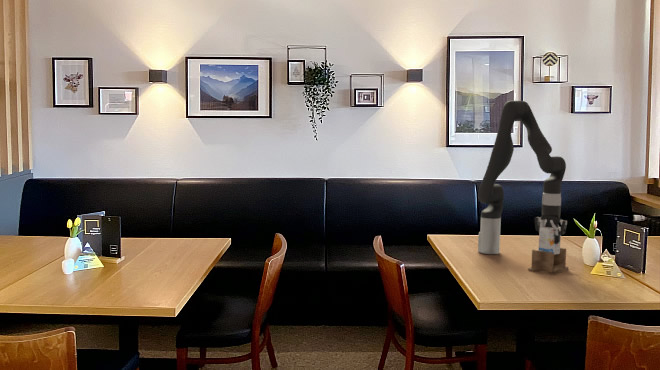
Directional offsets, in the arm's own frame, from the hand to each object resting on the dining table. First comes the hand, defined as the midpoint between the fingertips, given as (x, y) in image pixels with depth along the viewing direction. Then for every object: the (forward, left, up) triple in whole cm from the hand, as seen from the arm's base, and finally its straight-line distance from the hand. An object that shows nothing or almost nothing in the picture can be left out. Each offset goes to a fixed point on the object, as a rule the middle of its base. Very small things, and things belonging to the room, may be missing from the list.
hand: (549, 242), depth 256 cm
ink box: (0, 0, -5) cm, 5 cm away
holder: (0, 0, -12) cm, 12 cm away
